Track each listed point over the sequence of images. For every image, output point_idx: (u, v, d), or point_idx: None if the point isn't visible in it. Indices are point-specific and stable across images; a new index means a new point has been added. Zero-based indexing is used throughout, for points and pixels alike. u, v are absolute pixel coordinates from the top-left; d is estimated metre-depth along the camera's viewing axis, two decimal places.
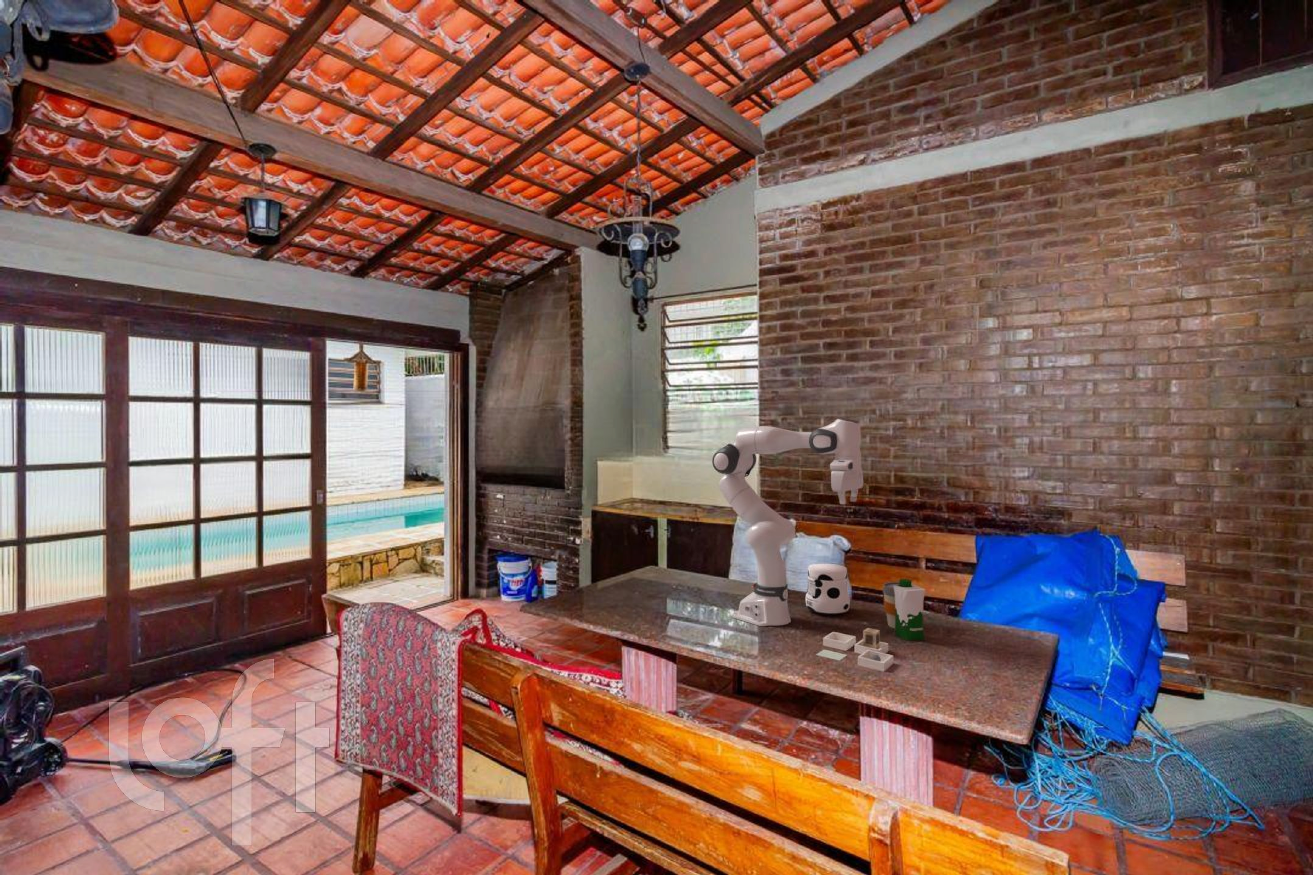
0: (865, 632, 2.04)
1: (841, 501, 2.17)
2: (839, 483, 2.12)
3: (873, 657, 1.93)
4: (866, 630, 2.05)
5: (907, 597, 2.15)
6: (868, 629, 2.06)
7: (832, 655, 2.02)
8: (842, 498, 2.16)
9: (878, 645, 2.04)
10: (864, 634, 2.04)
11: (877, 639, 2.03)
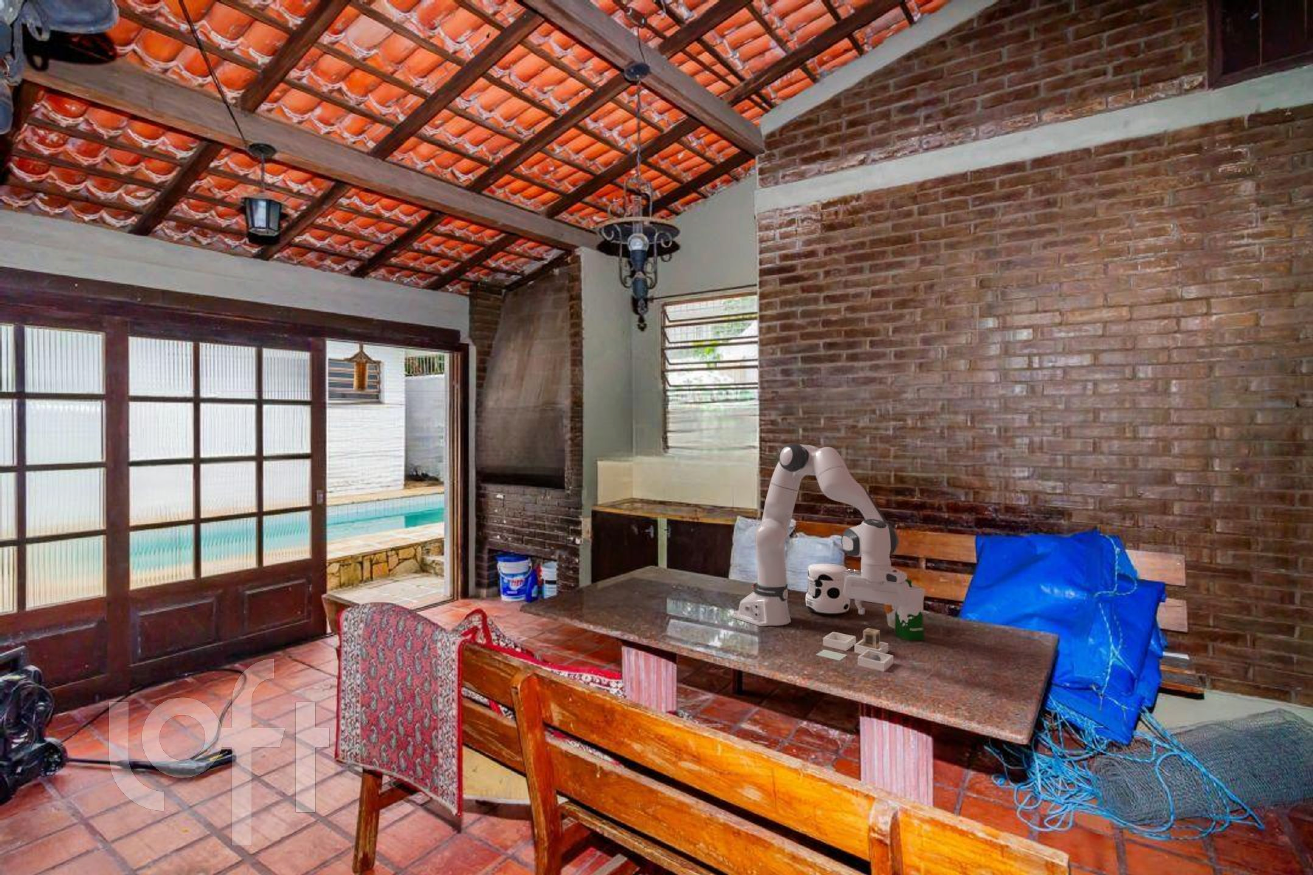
0: (865, 632, 2.04)
1: (893, 616, 1.90)
2: (910, 596, 1.88)
3: (873, 657, 1.93)
4: (866, 630, 2.05)
5: None
6: (868, 629, 2.06)
7: (832, 655, 2.02)
8: (895, 612, 1.91)
9: (878, 645, 2.04)
10: (864, 634, 2.04)
11: (877, 639, 2.03)
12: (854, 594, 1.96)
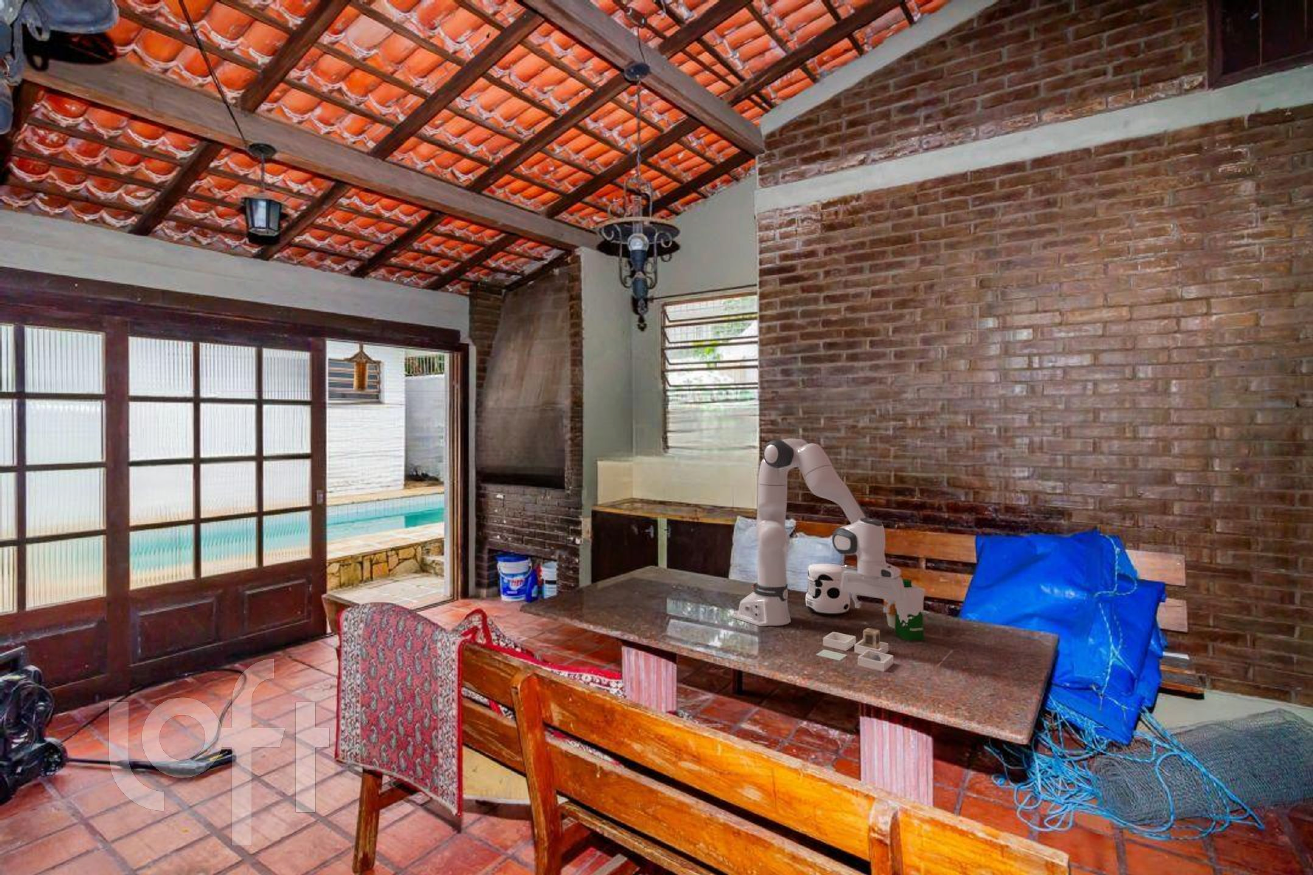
0: (865, 632, 2.04)
1: (888, 609, 2.01)
2: (903, 590, 1.99)
3: (873, 657, 1.93)
4: (866, 630, 2.05)
5: (907, 597, 2.15)
6: (868, 629, 2.06)
7: (832, 655, 2.02)
8: (889, 606, 2.01)
9: (878, 645, 2.04)
10: (864, 634, 2.04)
11: (877, 639, 2.03)
12: (851, 589, 2.07)
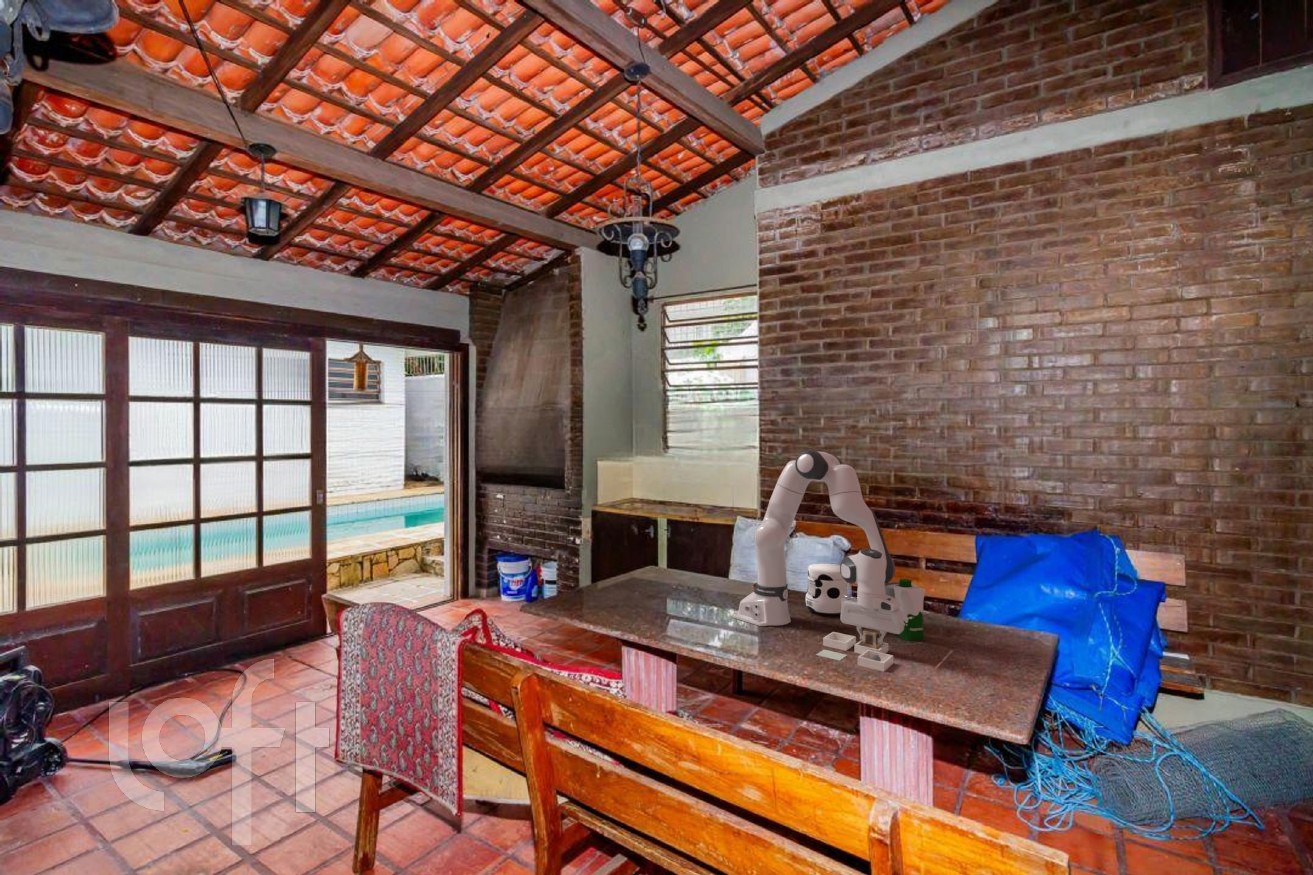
0: (865, 632, 2.04)
1: (881, 640, 2.03)
2: (903, 623, 1.99)
3: (873, 657, 1.93)
4: (866, 630, 2.05)
5: (907, 597, 2.15)
6: (868, 629, 2.06)
7: (832, 655, 2.02)
8: (883, 637, 2.03)
9: (878, 645, 2.04)
10: (864, 634, 2.04)
11: None
12: (851, 620, 2.07)
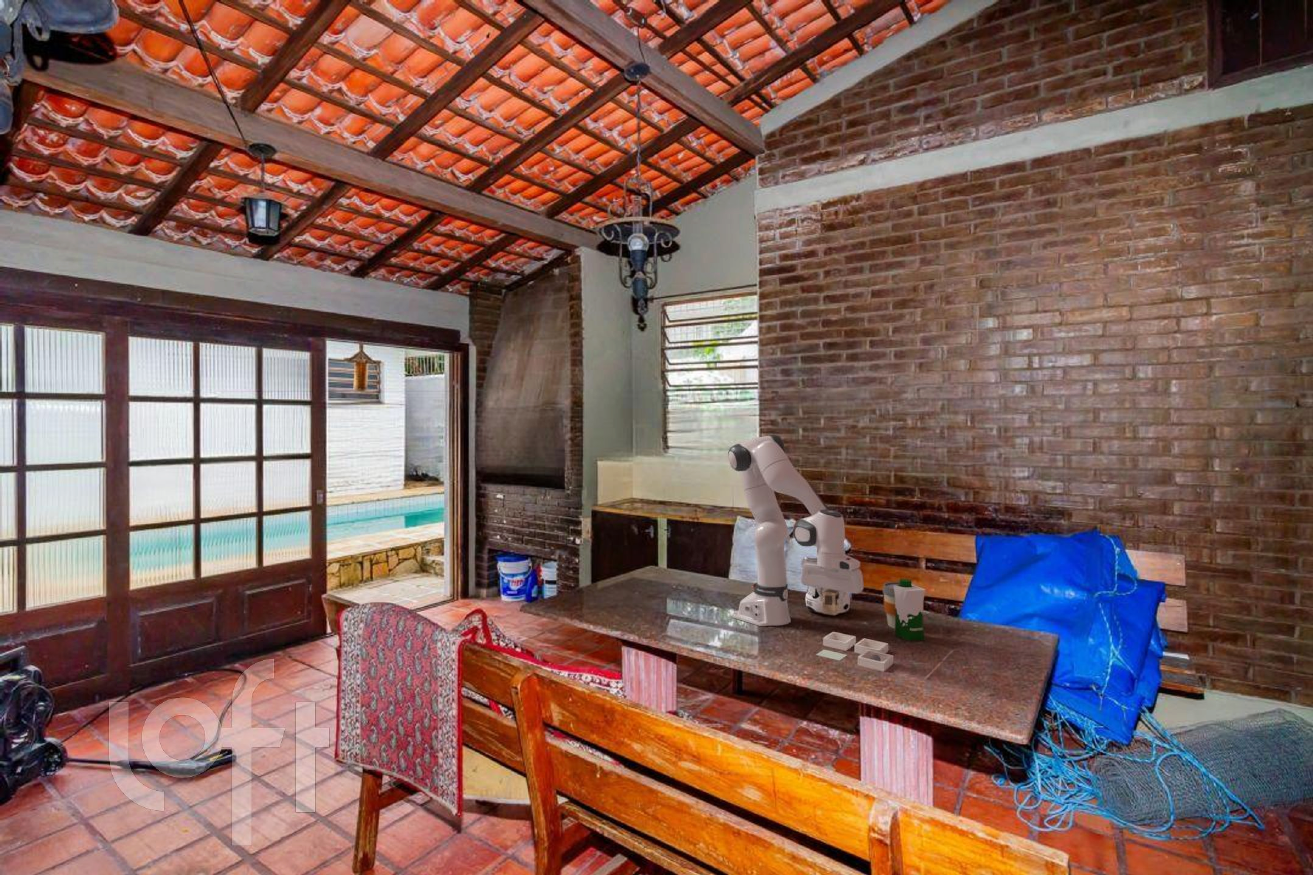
0: (824, 592, 2.01)
1: (841, 601, 2.00)
2: (862, 583, 1.96)
3: (873, 657, 1.93)
4: (826, 591, 2.02)
5: (907, 597, 2.15)
6: (828, 590, 2.03)
7: (832, 655, 2.02)
8: (842, 598, 2.00)
9: (838, 606, 2.01)
10: (823, 595, 2.01)
11: None
12: (811, 581, 2.04)
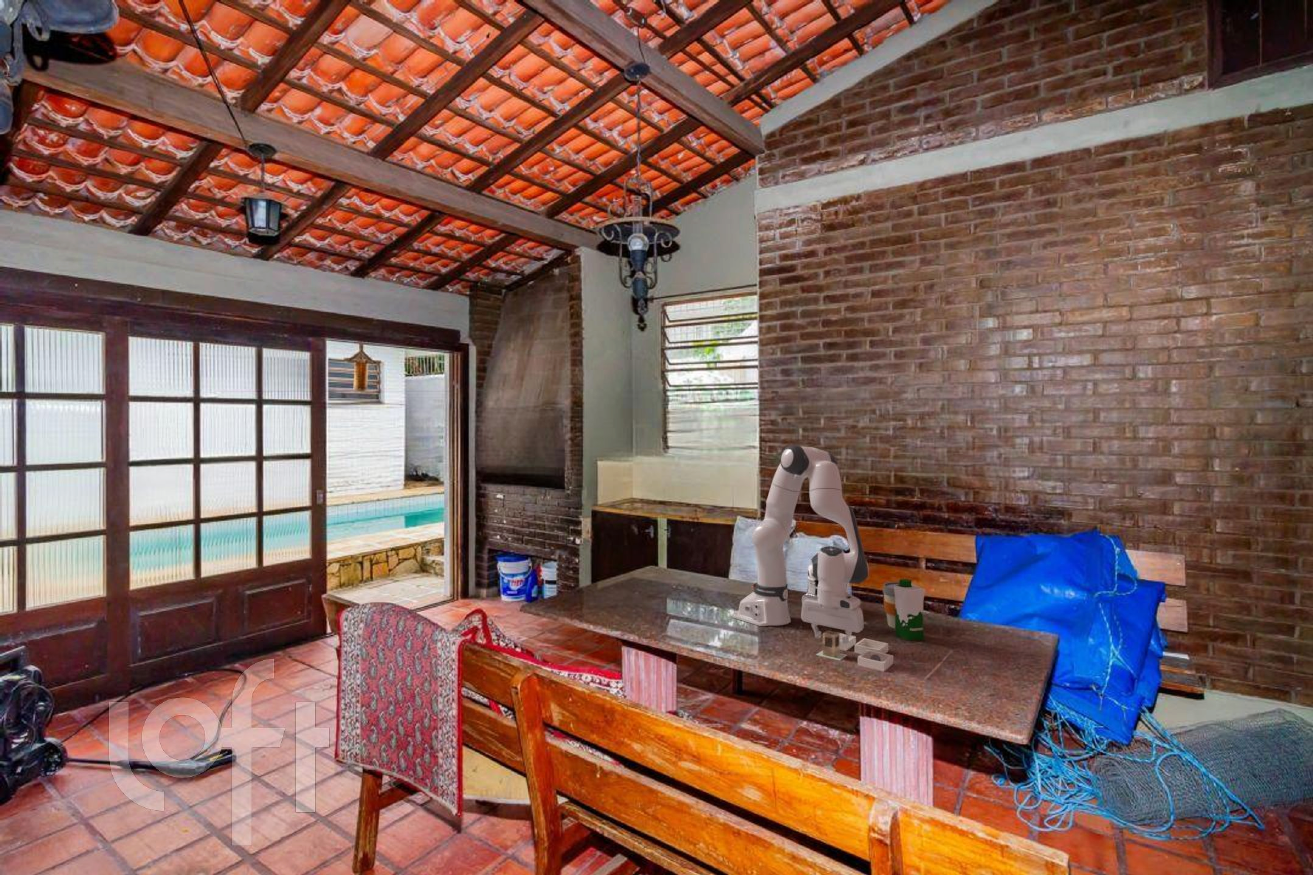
0: (824, 634, 2.02)
1: (847, 640, 1.99)
2: (862, 621, 1.97)
3: (873, 657, 1.93)
4: (826, 633, 2.02)
5: (907, 597, 2.15)
6: (828, 632, 2.03)
7: None
8: (848, 637, 1.99)
9: (838, 648, 2.02)
10: (823, 637, 2.02)
11: (836, 642, 2.01)
12: (811, 618, 2.05)
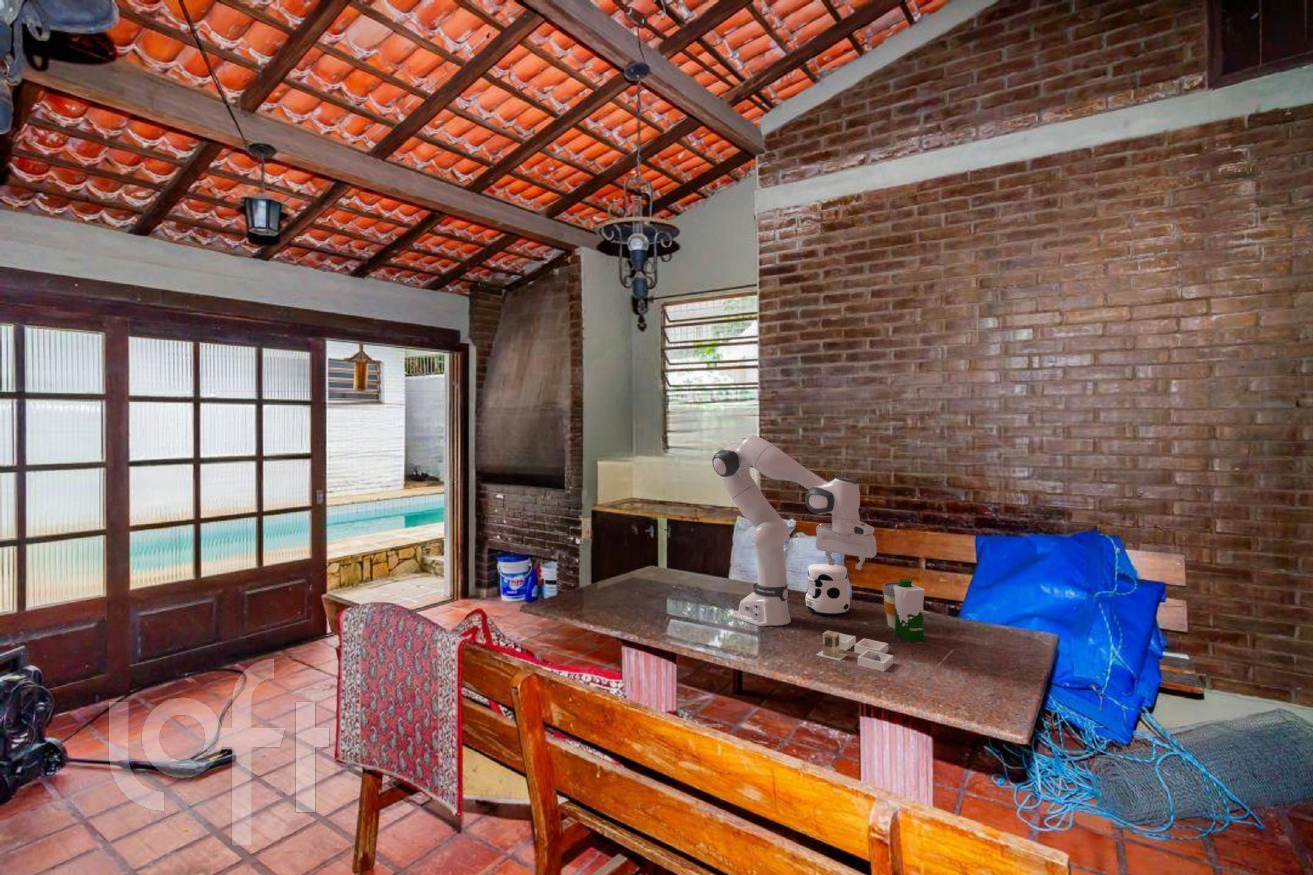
0: (824, 634, 2.02)
1: (860, 567, 2.04)
2: (875, 548, 2.02)
3: (873, 657, 1.93)
4: (826, 633, 2.02)
5: (907, 597, 2.15)
6: (828, 632, 2.03)
7: None
8: (861, 563, 2.04)
9: (838, 648, 2.02)
10: (823, 637, 2.02)
11: (836, 642, 2.01)
12: (825, 546, 2.10)
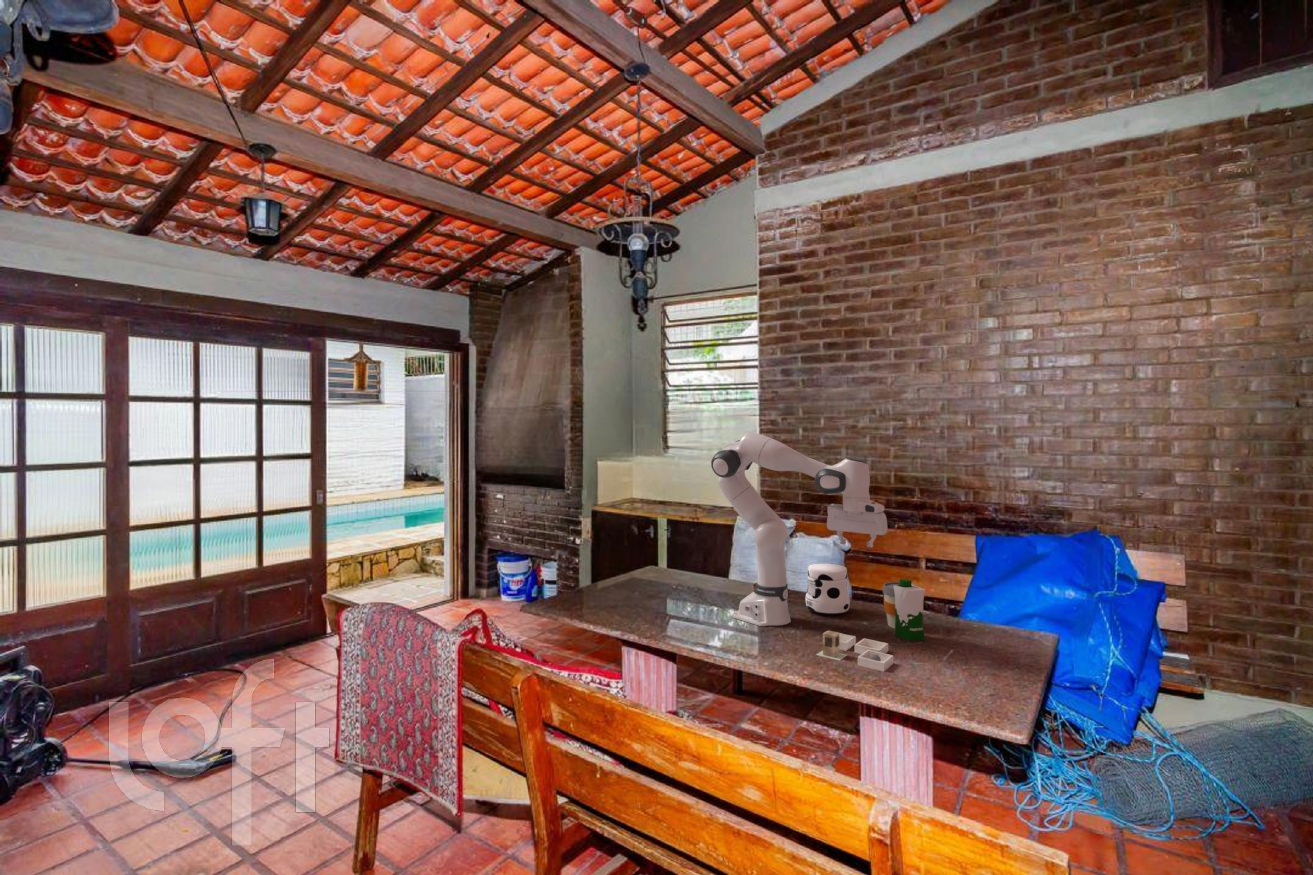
0: (824, 634, 2.02)
1: (871, 544, 2.09)
2: (886, 525, 2.07)
3: (873, 657, 1.93)
4: (826, 633, 2.02)
5: (907, 597, 2.15)
6: (828, 632, 2.03)
7: None
8: (873, 541, 2.09)
9: (838, 648, 2.02)
10: (823, 637, 2.02)
11: (836, 642, 2.01)
12: (837, 526, 2.15)
